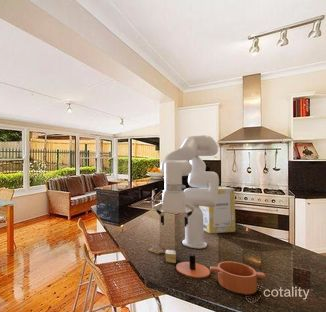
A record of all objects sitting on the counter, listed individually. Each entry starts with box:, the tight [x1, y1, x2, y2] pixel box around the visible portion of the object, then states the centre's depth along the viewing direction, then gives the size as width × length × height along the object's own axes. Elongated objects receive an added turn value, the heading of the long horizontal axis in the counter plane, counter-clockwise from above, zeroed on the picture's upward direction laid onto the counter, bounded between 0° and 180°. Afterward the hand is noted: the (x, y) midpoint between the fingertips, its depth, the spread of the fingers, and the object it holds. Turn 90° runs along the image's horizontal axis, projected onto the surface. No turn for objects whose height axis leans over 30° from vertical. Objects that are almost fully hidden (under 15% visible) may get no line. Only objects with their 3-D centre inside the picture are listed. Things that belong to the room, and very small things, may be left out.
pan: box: [209, 260, 267, 295], centre depth 88 cm, size 12×18×6 cm
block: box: [165, 249, 177, 264], centre depth 110 cm, size 4×4×4 cm
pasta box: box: [199, 186, 236, 234], centre depth 154 cm, size 18×10×28 cm, turn 98°
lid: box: [175, 253, 211, 279], centre depth 100 cm, size 13×13×7 cm
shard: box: [148, 243, 166, 255], centre depth 122 cm, size 11×8×2 cm
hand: (174, 225), depth 106 cm, fingers open, 9 cm apart
